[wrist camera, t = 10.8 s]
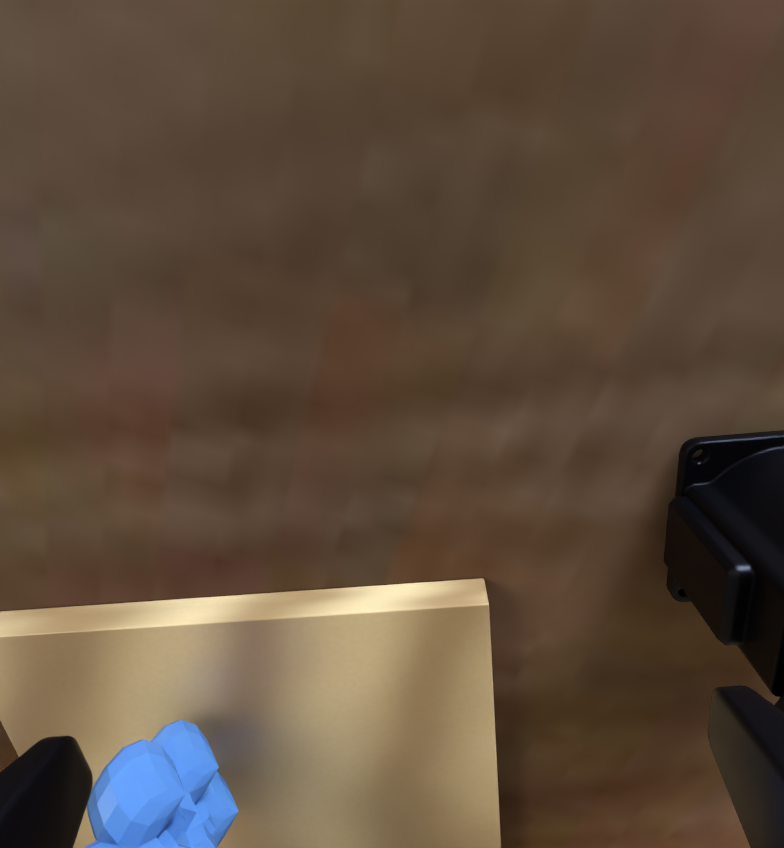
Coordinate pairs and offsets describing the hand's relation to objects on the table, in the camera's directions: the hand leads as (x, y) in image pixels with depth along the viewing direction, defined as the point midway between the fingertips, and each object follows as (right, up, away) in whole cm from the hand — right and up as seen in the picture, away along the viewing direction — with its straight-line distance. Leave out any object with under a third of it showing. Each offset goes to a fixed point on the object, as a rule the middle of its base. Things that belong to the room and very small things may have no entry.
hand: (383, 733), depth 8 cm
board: (-5, -10, +17) cm, 20 cm away
